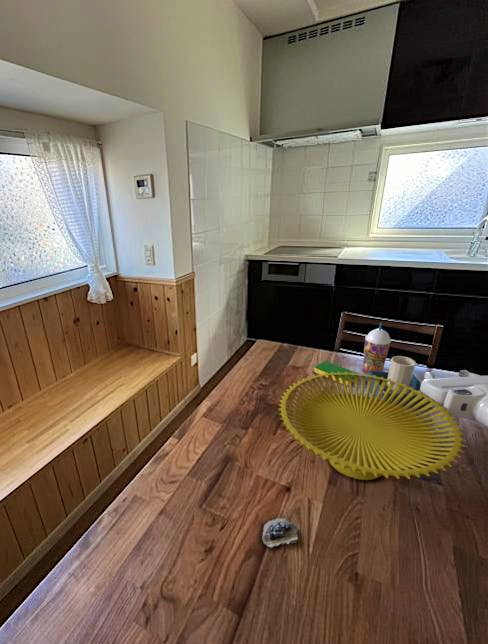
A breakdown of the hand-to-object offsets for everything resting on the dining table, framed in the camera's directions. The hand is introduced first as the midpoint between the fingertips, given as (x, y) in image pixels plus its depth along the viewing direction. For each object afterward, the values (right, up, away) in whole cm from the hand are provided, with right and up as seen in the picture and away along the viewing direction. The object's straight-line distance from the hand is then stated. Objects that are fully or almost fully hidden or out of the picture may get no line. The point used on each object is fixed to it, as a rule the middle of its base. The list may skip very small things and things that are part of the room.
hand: (444, 373), depth 94 cm
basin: (-1, -9, +20) cm, 23 cm away
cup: (-1, -9, +20) cm, 22 cm away
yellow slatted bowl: (-27, -22, -5) cm, 36 cm away
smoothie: (-1, -3, +34) cm, 35 cm away
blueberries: (-52, -32, -22) cm, 65 cm away
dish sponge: (-16, -5, +33) cm, 37 cm away
